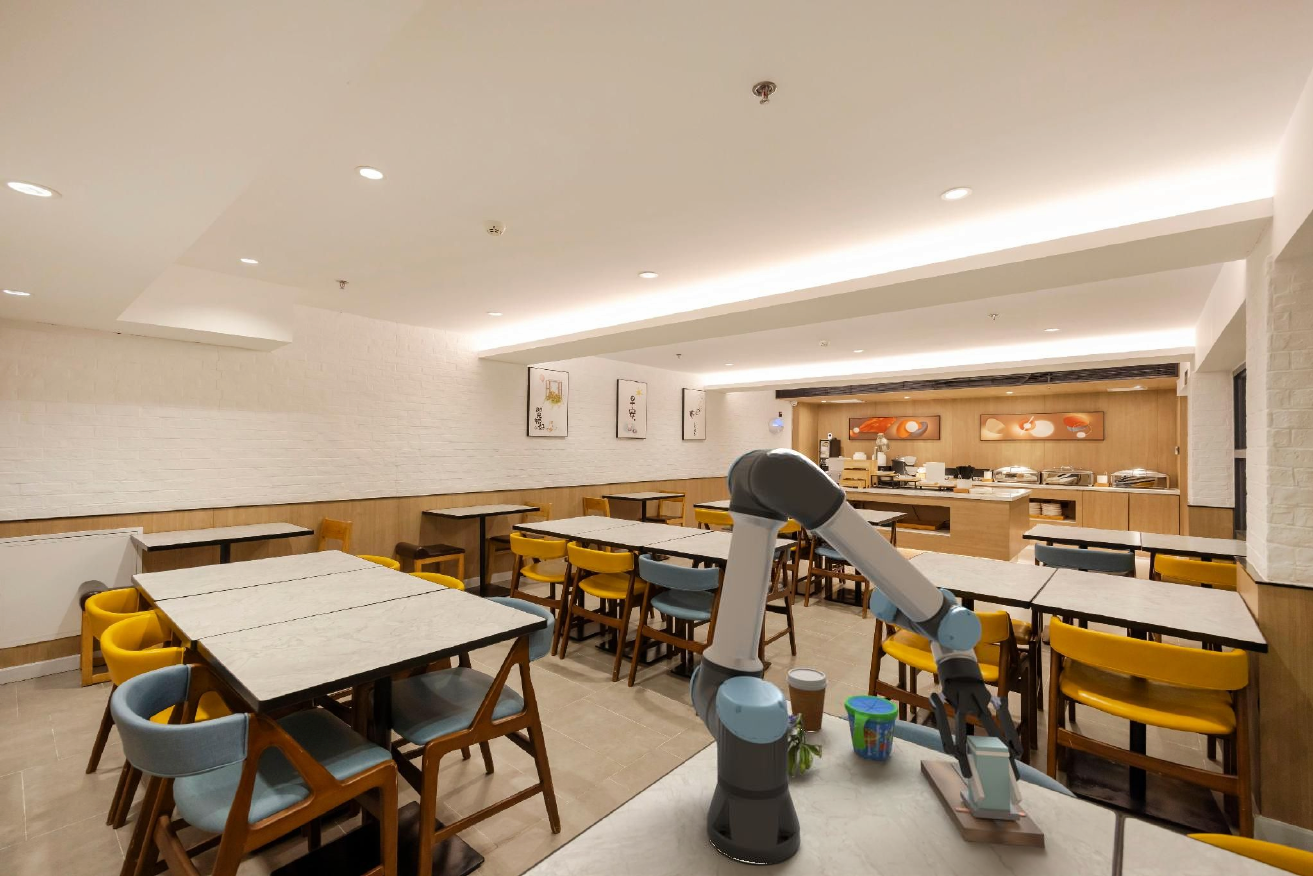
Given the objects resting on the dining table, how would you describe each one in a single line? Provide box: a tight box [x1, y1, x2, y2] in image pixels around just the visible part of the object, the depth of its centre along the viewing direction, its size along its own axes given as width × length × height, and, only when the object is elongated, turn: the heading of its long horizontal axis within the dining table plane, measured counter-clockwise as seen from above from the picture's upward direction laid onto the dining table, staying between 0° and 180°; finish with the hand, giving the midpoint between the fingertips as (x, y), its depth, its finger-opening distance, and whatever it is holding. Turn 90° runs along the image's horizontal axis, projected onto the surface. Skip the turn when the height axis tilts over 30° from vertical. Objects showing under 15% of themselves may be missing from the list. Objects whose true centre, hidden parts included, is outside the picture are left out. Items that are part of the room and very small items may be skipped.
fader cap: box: [960, 735, 1020, 821], centre depth 98 cm, size 7×6×11 cm
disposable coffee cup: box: [785, 667, 829, 732], centre depth 134 cm, size 10×10×12 cm
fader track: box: [920, 759, 1046, 848], centre depth 103 cm, size 12×22×2 cm, turn 172°
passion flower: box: [788, 713, 823, 777], centre depth 117 cm, size 11×11×12 cm
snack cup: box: [844, 694, 899, 761], centre depth 122 cm, size 16×10×10 cm
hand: (998, 800), depth 94 cm, fingers closed on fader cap, 5 cm apart
